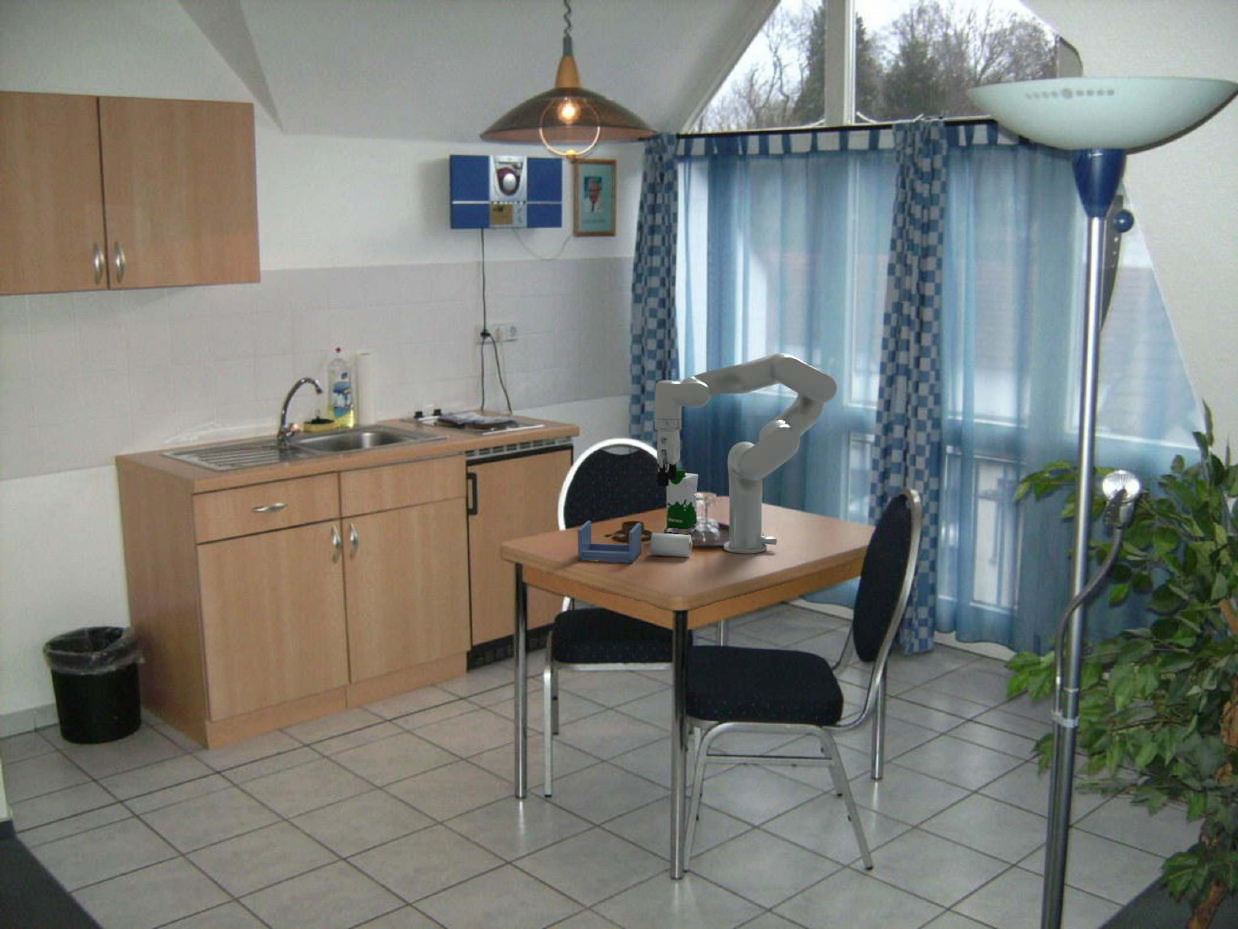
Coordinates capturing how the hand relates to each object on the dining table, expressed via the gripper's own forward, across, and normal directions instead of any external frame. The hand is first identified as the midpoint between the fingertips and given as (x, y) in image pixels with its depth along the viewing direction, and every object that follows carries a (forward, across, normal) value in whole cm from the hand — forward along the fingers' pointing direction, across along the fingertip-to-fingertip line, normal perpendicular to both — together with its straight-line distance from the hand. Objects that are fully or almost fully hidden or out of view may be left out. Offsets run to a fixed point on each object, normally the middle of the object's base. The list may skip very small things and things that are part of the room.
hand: (667, 482), depth 366 cm
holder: (+21, -8, +15) cm, 27 cm away
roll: (+21, -2, -2) cm, 21 cm away
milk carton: (+21, +26, +1) cm, 33 cm away
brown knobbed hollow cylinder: (+22, +12, +15) cm, 29 cm away
